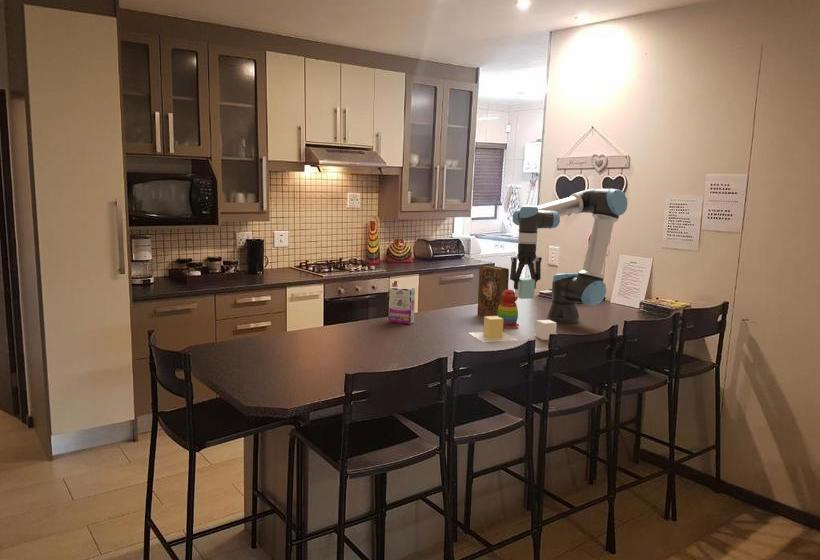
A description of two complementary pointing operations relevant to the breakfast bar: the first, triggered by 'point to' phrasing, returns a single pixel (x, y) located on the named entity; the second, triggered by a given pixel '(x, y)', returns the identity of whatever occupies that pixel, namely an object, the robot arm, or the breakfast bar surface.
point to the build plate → (485, 339)
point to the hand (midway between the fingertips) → (524, 296)
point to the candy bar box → (401, 305)
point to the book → (491, 289)
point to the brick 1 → (526, 288)
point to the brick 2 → (545, 329)
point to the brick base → (493, 327)
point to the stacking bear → (508, 310)
